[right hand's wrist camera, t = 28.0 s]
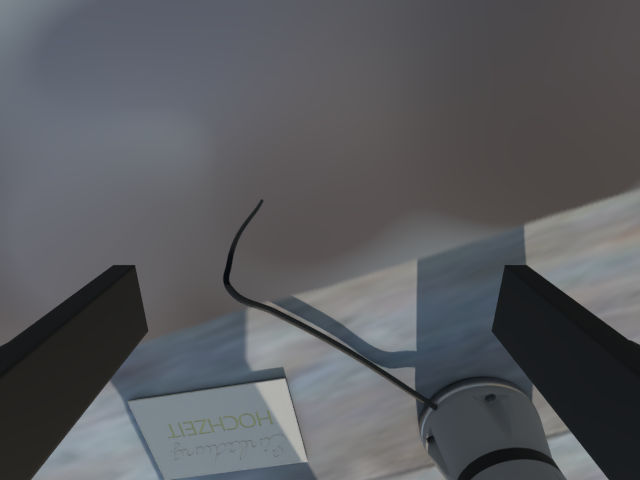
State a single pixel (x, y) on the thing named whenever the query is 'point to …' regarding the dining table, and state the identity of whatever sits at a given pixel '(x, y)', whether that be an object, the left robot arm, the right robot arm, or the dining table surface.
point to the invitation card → (221, 429)
